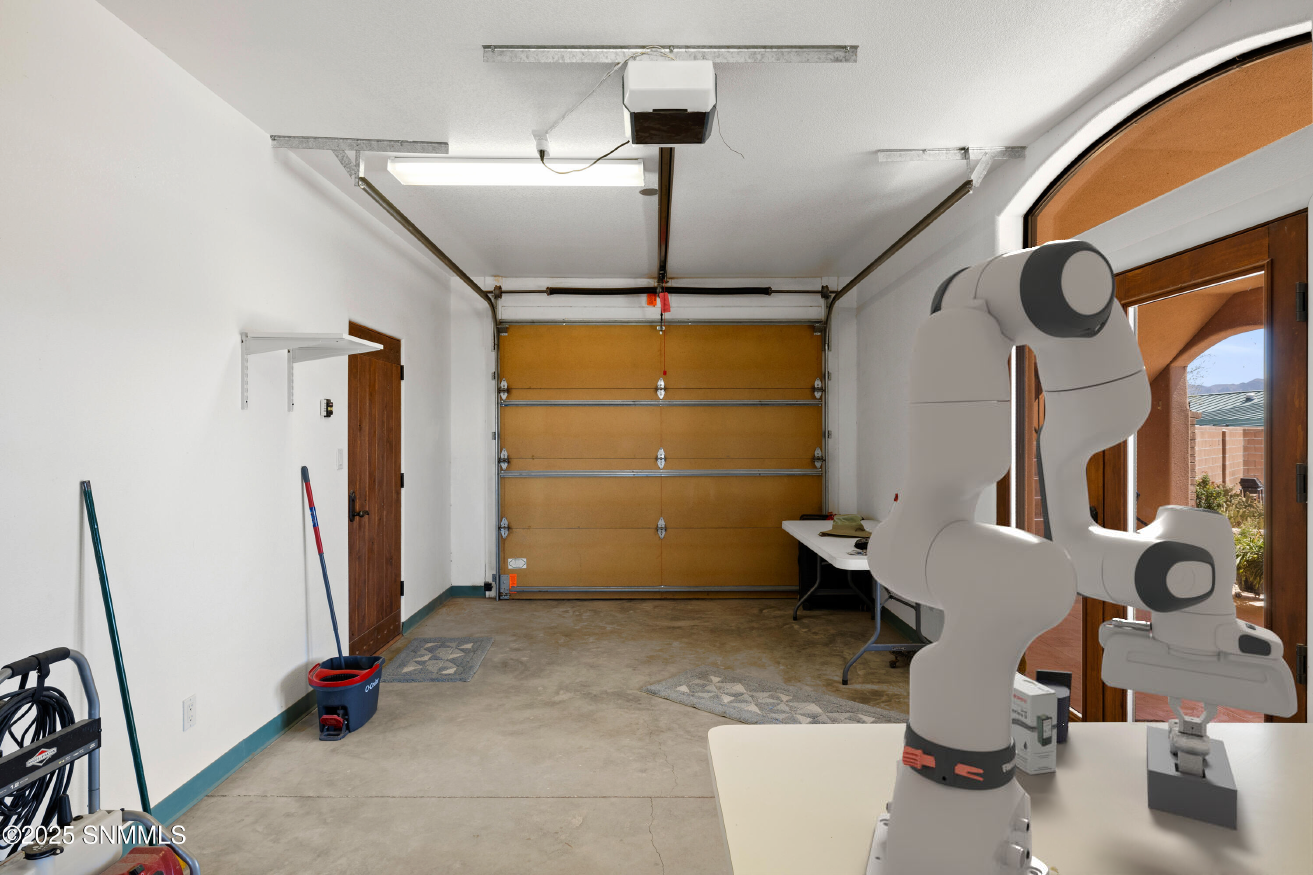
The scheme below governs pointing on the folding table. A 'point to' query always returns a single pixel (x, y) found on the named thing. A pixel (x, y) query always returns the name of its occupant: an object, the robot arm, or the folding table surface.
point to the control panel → (1191, 783)
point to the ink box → (1034, 725)
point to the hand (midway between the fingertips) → (1192, 732)
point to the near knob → (1190, 751)
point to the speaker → (1058, 697)
